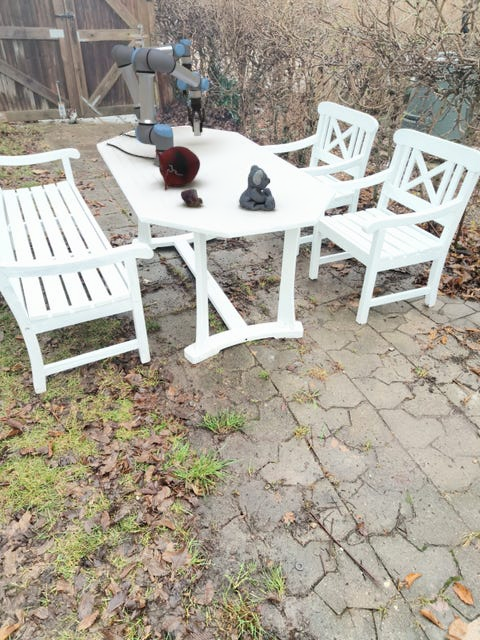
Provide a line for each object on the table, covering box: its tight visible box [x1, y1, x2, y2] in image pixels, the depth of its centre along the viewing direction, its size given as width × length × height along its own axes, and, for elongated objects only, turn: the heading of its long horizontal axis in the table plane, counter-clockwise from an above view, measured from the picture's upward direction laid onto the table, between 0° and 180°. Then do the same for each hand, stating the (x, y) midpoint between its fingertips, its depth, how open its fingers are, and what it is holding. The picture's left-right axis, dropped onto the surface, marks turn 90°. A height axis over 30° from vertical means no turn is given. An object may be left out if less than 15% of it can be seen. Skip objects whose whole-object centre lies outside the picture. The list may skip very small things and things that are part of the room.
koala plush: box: [238, 164, 276, 211], centre depth 224 cm, size 17×18×20 cm
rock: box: [180, 188, 204, 207], centre depth 229 cm, size 12×9×10 cm
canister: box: [193, 121, 202, 137], centre depth 329 cm, size 5×5×9 cm
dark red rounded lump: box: [155, 145, 201, 191], centre depth 255 cm, size 21×24×25 cm
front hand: (197, 131), depth 330 cm, fingers closed on canister, 5 cm apart
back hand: (188, 93), depth 357 cm, fingers open, 13 cm apart
